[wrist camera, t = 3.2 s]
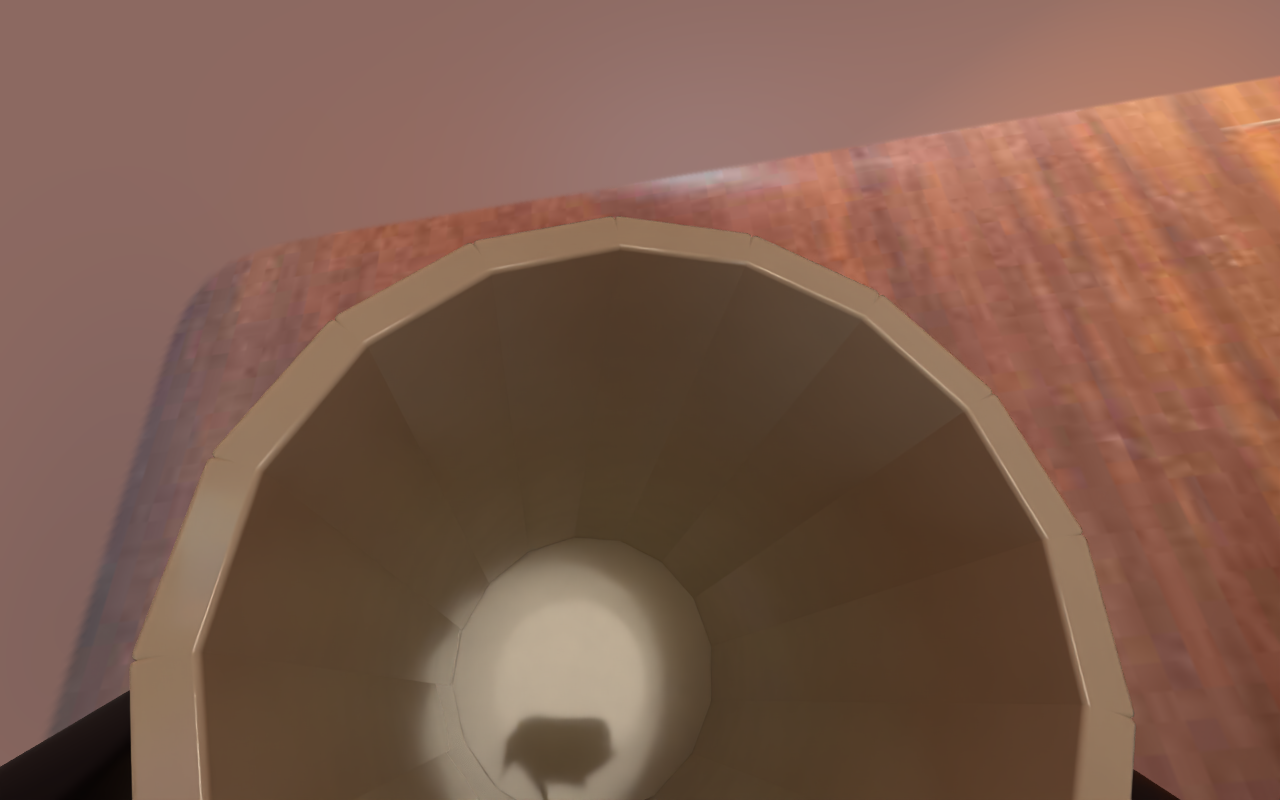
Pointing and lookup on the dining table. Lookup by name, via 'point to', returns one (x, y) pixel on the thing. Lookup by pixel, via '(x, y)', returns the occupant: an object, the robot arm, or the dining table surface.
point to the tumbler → (628, 552)
